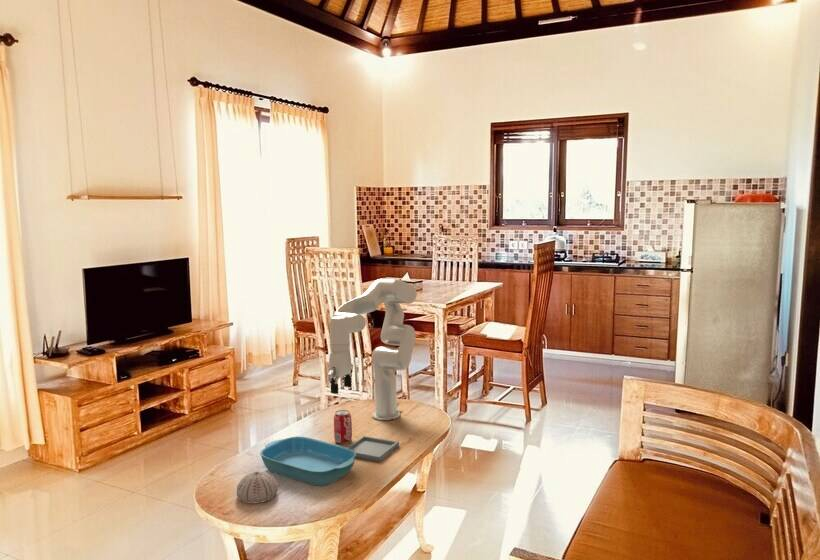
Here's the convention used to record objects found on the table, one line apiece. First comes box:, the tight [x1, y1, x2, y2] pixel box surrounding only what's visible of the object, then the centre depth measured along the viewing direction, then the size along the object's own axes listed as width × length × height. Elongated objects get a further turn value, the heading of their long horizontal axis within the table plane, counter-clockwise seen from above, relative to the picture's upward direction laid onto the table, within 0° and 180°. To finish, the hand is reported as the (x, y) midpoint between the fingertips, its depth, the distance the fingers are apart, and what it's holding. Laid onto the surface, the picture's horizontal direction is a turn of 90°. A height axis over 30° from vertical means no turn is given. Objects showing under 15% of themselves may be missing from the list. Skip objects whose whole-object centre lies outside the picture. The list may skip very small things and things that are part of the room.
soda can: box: [333, 409, 353, 445], centre depth 238 cm, size 7×7×12 cm
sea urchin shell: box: [235, 470, 279, 503], centre depth 193 cm, size 13×14×8 cm
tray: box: [345, 435, 400, 463], centre depth 229 cm, size 16×16×2 cm
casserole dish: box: [259, 436, 357, 487], centre depth 212 cm, size 37×22×7 cm, turn 58°
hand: (341, 389), depth 236 cm, fingers open, 9 cm apart
